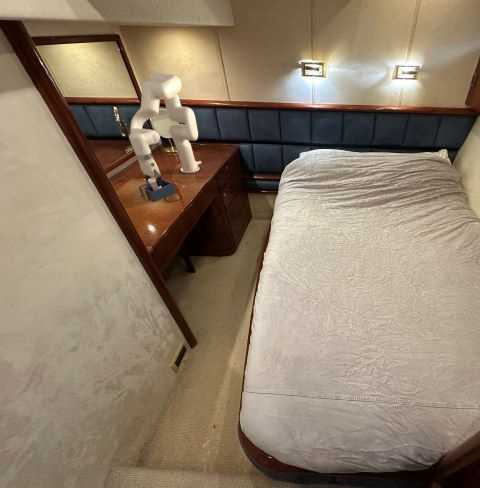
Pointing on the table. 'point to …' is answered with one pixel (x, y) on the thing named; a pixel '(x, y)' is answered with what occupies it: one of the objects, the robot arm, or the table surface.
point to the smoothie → (153, 183)
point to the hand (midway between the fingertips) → (155, 183)
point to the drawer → (157, 191)
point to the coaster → (172, 198)
